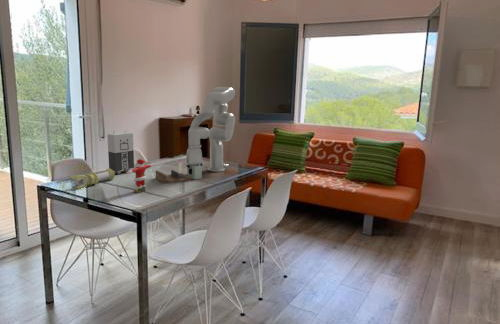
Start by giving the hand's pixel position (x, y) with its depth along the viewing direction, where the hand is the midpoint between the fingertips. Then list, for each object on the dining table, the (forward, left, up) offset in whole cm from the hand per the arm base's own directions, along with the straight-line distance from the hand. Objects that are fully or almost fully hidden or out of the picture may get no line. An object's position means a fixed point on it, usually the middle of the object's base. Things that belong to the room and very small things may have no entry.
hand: (194, 173), depth 250 cm
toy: (+39, -34, -3) cm, 52 cm away
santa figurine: (+42, +19, -3) cm, 46 cm away
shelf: (+15, 0, -2) cm, 15 cm away
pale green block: (0, 0, -2) cm, 2 cm away
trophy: (+62, -9, -3) cm, 63 cm away
